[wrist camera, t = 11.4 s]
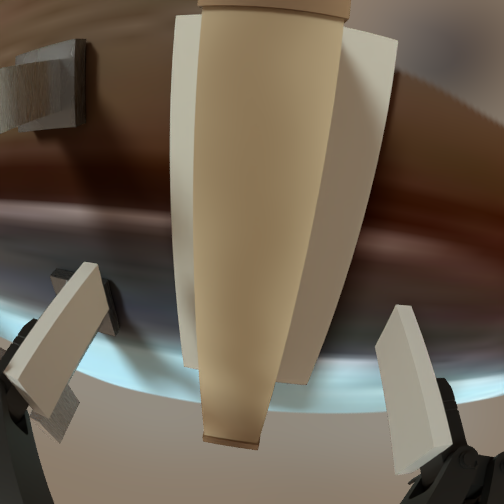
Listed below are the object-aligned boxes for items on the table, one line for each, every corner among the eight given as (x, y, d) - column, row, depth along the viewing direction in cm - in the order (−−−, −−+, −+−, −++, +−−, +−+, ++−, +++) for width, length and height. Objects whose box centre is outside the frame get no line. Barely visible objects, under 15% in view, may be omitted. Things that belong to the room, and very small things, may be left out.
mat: (185, 361, 24) (184, 366, 24) (180, 17, 11) (175, 15, 11) (306, 379, 24) (306, 385, 23) (394, 41, 11) (397, 40, 10)
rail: (219, 374, 24) (203, 441, 19) (239, 12, 11) (200, -26, 5) (266, 381, 24) (257, 450, 18) (326, 21, 10) (351, -14, 5)
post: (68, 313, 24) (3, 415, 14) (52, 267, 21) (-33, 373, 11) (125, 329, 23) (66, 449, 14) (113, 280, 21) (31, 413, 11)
